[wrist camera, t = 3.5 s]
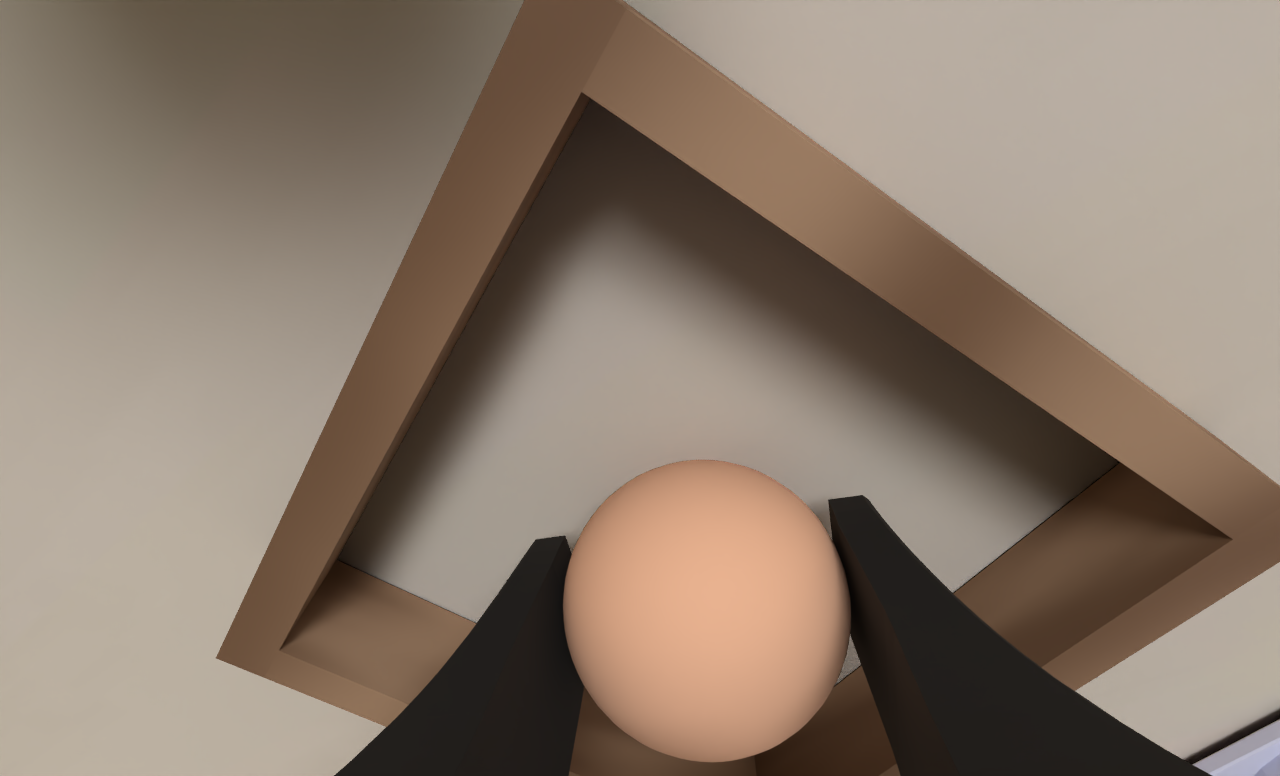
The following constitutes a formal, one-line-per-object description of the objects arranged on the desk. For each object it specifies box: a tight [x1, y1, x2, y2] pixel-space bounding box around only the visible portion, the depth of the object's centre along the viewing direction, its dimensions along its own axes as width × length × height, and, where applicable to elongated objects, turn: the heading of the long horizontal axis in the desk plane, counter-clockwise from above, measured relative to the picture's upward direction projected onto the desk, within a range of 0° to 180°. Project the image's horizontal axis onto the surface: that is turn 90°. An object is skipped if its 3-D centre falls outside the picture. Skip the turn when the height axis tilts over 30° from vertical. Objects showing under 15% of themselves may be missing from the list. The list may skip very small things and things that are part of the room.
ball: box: [563, 460, 851, 762], centre depth 12 cm, size 5×5×5 cm
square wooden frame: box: [216, 0, 1280, 776], centre depth 13 cm, size 14×14×2 cm
